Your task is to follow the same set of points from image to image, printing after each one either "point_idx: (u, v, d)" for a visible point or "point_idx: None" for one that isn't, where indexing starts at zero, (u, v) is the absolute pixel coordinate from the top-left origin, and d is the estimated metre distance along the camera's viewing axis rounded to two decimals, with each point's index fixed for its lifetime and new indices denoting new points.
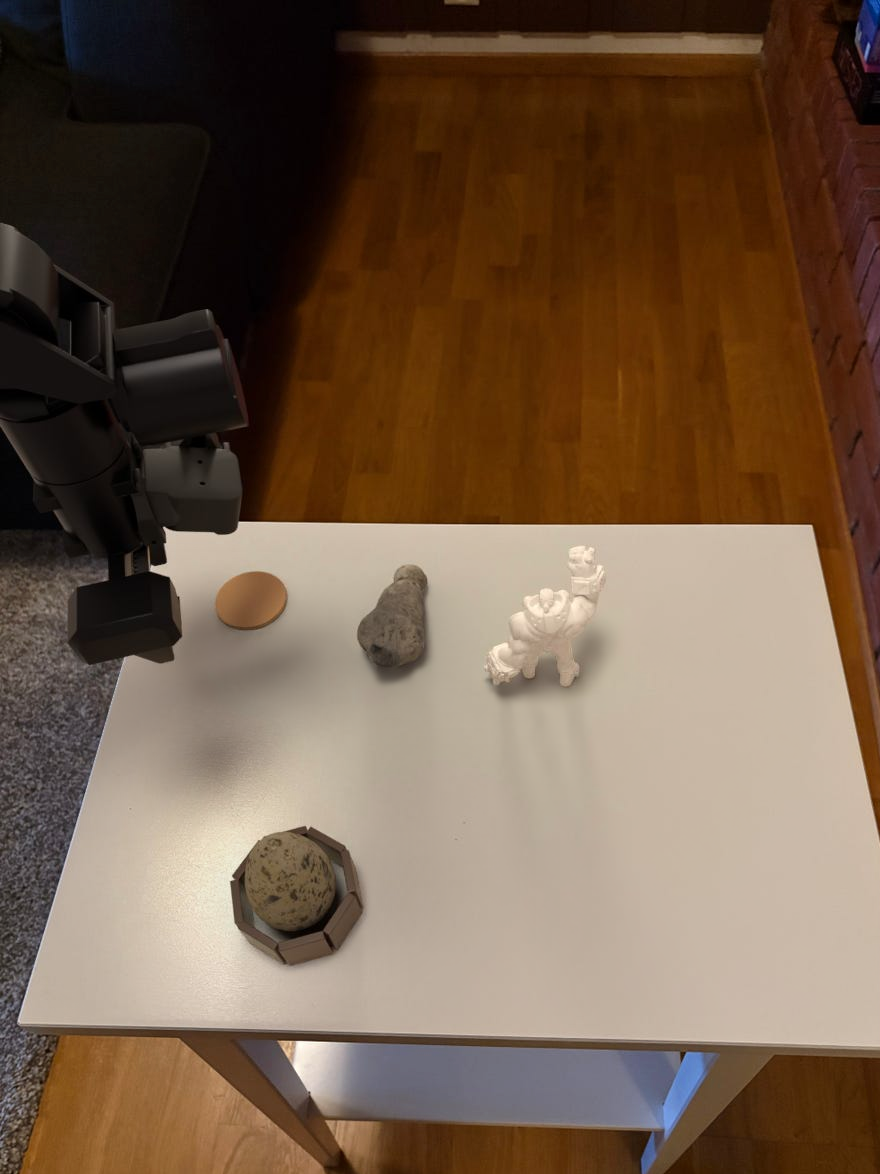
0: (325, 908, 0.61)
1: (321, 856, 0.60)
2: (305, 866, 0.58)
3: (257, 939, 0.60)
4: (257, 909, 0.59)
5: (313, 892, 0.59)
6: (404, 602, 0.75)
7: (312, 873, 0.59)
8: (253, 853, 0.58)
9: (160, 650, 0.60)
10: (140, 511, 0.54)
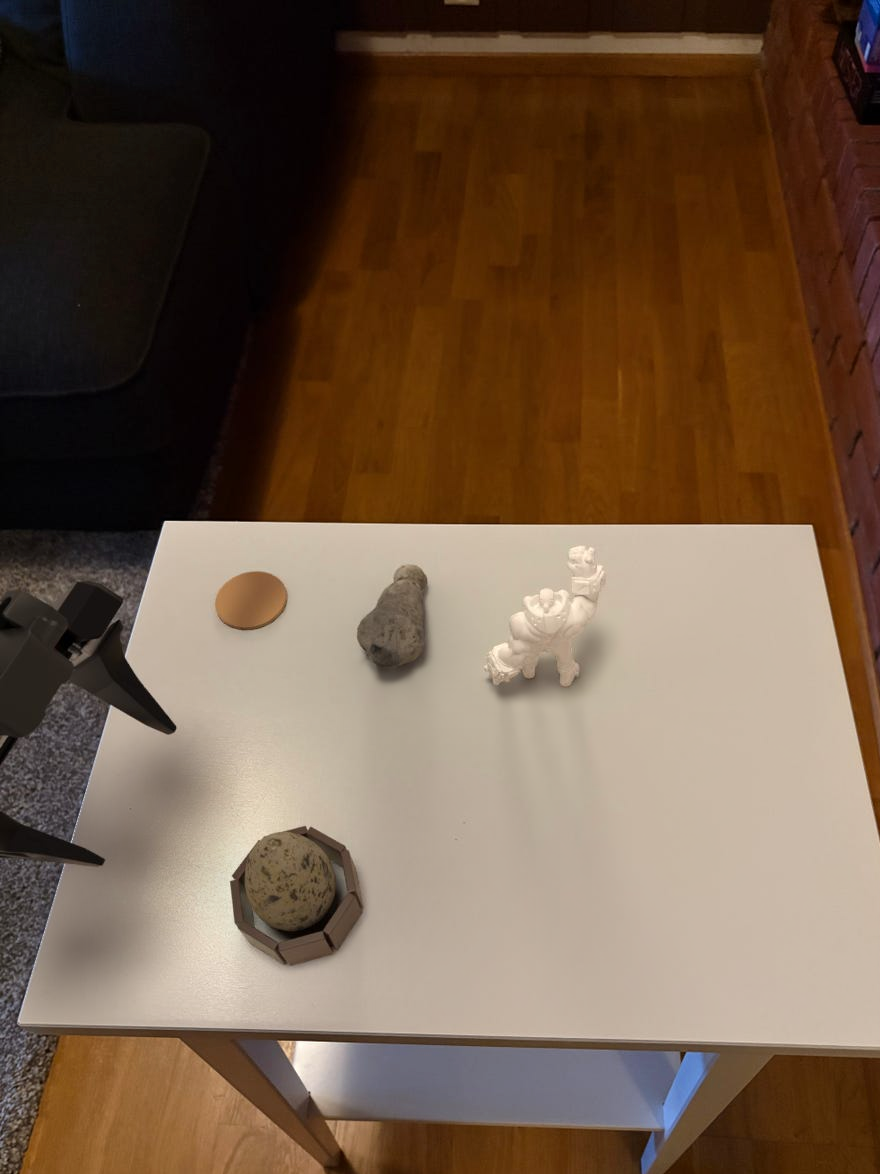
0: (325, 908, 0.61)
1: (321, 856, 0.60)
2: (305, 866, 0.58)
3: (257, 939, 0.60)
4: (257, 909, 0.59)
5: (313, 892, 0.59)
6: (404, 602, 0.75)
7: (312, 873, 0.58)
8: (253, 853, 0.58)
9: (59, 859, 0.51)
10: None
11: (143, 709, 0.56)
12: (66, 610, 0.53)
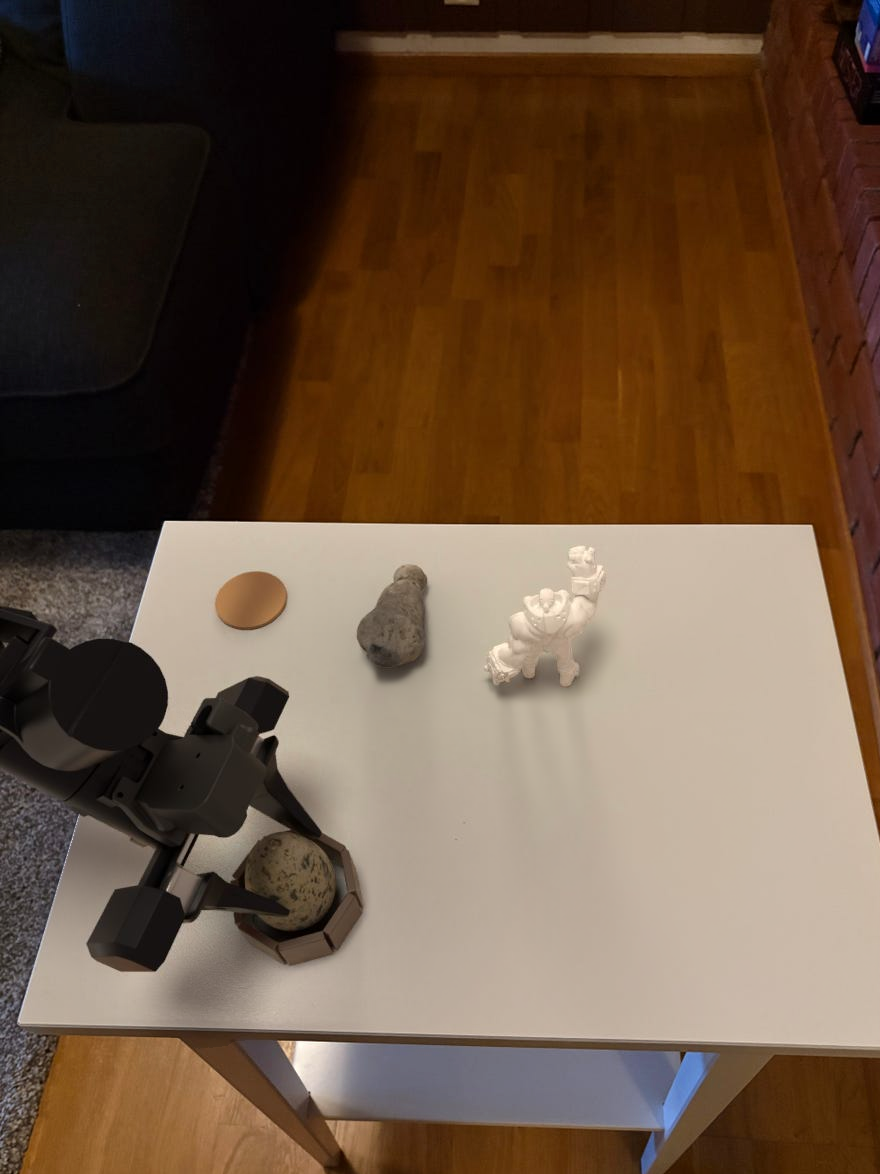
0: (325, 908, 0.61)
1: (321, 856, 0.60)
2: (306, 866, 0.58)
3: (257, 939, 0.60)
4: None
5: (313, 892, 0.59)
6: (403, 602, 0.75)
7: (312, 873, 0.59)
8: (253, 853, 0.58)
9: (253, 911, 0.56)
10: (133, 820, 0.51)
11: (294, 818, 0.59)
12: (242, 706, 0.57)
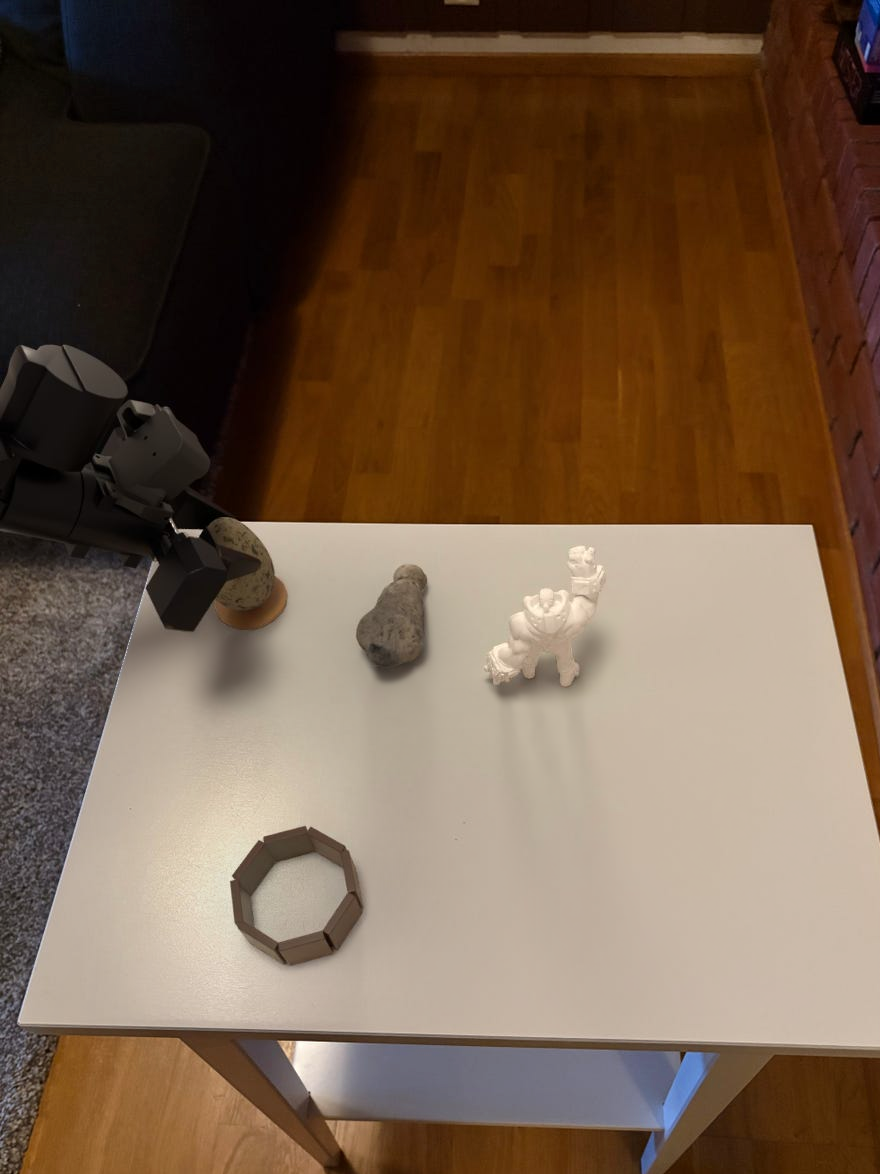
0: (273, 567, 0.78)
1: None
2: (247, 528, 0.75)
3: (257, 939, 0.60)
4: (234, 585, 0.75)
5: (262, 548, 0.76)
6: (403, 602, 0.75)
7: (253, 533, 0.75)
8: None
9: (240, 565, 0.72)
10: (133, 508, 0.64)
11: (213, 510, 0.75)
12: None
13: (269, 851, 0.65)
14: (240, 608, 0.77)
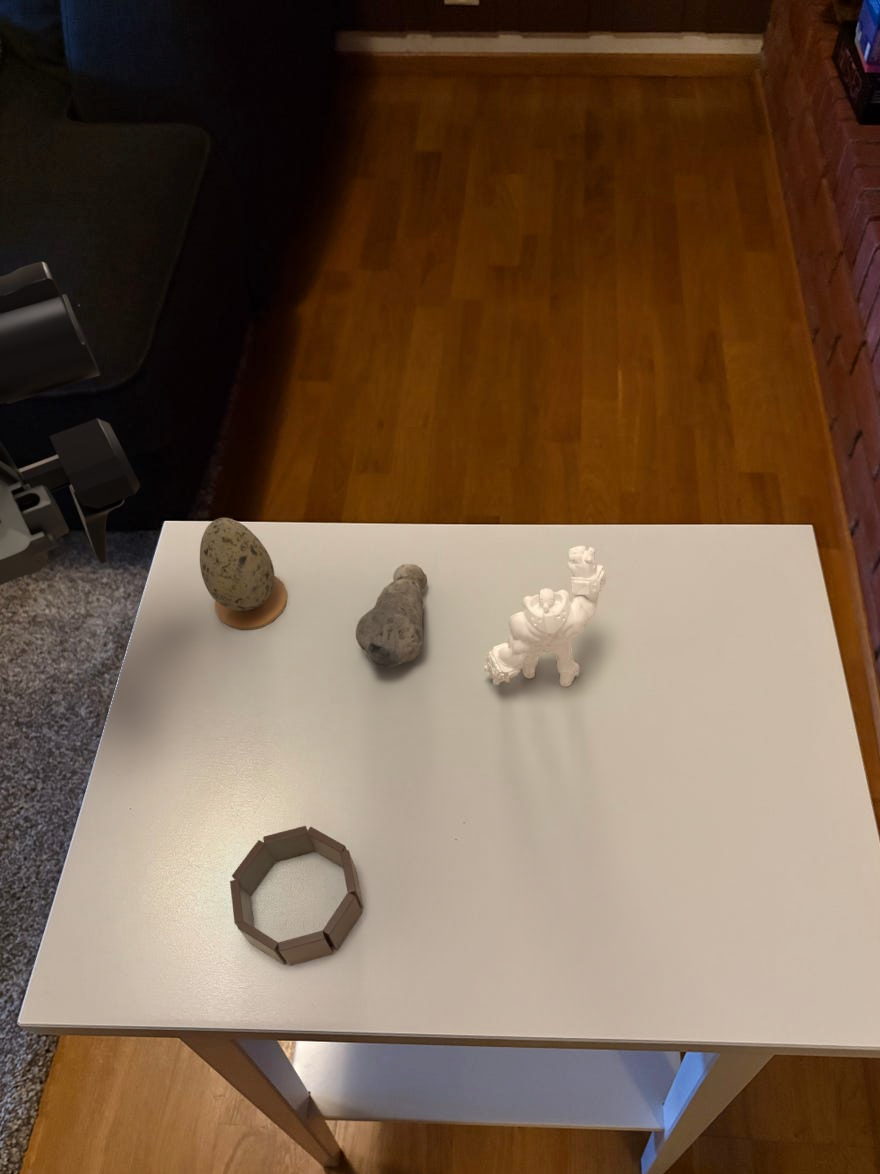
0: None
1: None
2: (246, 528, 0.75)
3: (257, 939, 0.60)
4: (234, 586, 0.75)
5: (261, 548, 0.76)
6: (403, 602, 0.75)
7: (252, 534, 0.75)
8: (207, 540, 0.73)
9: None
10: None
11: (91, 544, 0.65)
12: (88, 475, 0.59)
13: (269, 851, 0.65)
14: (240, 608, 0.77)
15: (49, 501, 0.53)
